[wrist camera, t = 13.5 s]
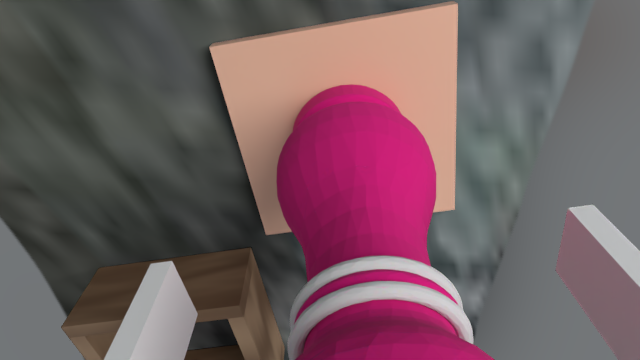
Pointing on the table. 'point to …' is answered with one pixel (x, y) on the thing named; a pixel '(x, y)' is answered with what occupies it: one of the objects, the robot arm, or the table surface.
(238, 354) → the wooden box
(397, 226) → the pepper mill
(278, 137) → the plate
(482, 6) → the table surface
